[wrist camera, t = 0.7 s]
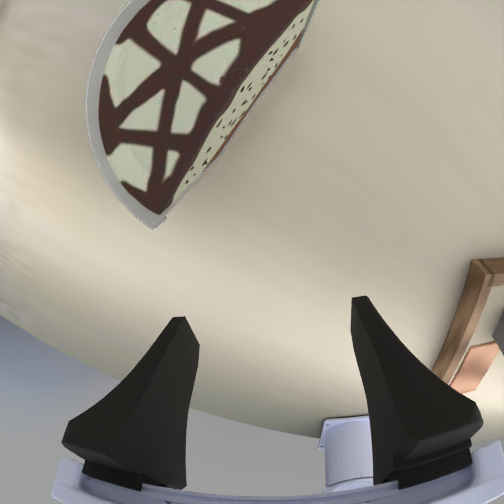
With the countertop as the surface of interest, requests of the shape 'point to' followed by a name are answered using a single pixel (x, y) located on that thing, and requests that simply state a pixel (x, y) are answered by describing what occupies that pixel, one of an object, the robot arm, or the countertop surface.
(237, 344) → the countertop surface
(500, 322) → the sage block
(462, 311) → the arena
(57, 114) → the countertop surface
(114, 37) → the food container
